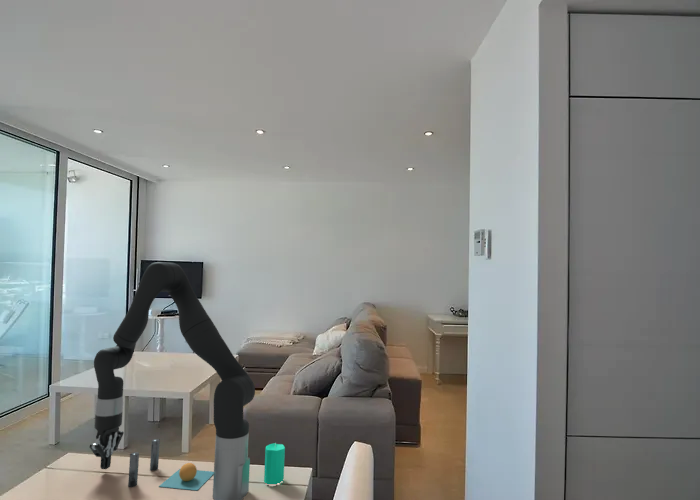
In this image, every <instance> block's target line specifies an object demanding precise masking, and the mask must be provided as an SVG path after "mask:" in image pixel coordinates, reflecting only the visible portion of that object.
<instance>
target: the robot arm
mask: <svg viewBox="0 0 700 500" xmlns="http://www.w3.org/2000/svg"><path fill="white" fill-rule="evenodd" d="M165 292H166V293H167V294H168V295H169V296H170V297H171V298H172V300H173V302H174V304H175V306H176V307H177V312H178V323H179V325H178V326H179V329H180V333H181V335H182V337H183V339H184V340H185V341H186V343H187V345H188V347H189V348H190V349H191V351H192V352H193V353H194V354H196V355H197V356H198V358H200V359H202V360H203V361H204V362H205V363H206V364H208V365H209V366H210V367H211V368H213V369H214V371H215V372H216V374H217V375H218V376H219V378H220V380H221V381H220V382H218V384H217V385H216V387H215V390H214V393H213V424H214V428H215V441H214V442H215V443H214V444H215V446H214V463H213V472H214V474H213V479H212V480H213V481H212V482H213V483H212V499H213V500H243V499H244V498H245V497H246V495H247V493H249V490H250V489H249V488H250V487H249V486H250V469H251V468H250V466H251V458H250V457H248V455H249V434H250V433H249V431H250V423H249V421H248V420H246V419H244V407H245V406H247V405H248V404H250V402H252V401H253V400H254V397H255V395H256V394H255V393H256V387H255V384H254V381H253V379H252V378H251V377H250V375H249V374H248V373H247V371H246V370H245V369H244V368H243V366H242V365H241V364H240V363H239V361H238V360H237V358H236V357H235V356H234V354H233V353H232V351H231V350H230V348H229V347H228V345H227V344H226V342H225V340H224V339H223V337H222V336H221V334H220V332H219V331H218V328H217V327H216V325H215V323H214V322H213V320H212V318H211V317H210V316H209V314H208V313H207V311H206V309H205V308H204V306H203V305H202V303H201V301H200V300H199V298H198V297H197V294H196V293H195V291H194V289H193V287H192V285H191V283H190V280H189V278H188V276H187V274H186V272H185V271H184V269H183V268H182V266H181V265H179V264H177V263H174V262H168V261H167V262H165V261H157V262H155V261H154V262H151V264H149V265H148V266H147V267H146V268H145V270H144V272H143V275H142V277H141V279H140V281H139V284H138V287H137V290H136V291H135V294H134V297H133V300H132V301H131V303H130V307H129V309H128V310H127V313H126V315H125V316H124V318H123V319H122V321H121V323H120V324H119V326H118V328H117V329H116V331H114V332H115V333H114V334H113V339H112V340H113V342H114V343H115V345H116V346H113V347H106V348H103V349H100V350H99V351H98V352H96V355H95V356H94V359H93V367H94V371H95V376H96V380H97V385H98V386H97V397H96V398H97V399H96V405H95V411H94V412H95V414H94V415H95V416H94V429H95V430H96V431H97V433H96V435H95V440H94V443H90V444H89V449H90V450H91V451H92V453H93V455H94V456H95V457H96V458H100V469H101V470H108V469H109V468H110V467H111V465H112V464H111V463H112V456H113V454H114V452H116V451H117V449H118V447H119V444H120V443H121V440H122V438H123V436H124V431H122V430H120V427H121V426H122V424H123V410H124V378H122V377H121V376H116V375H115V370H119V369H122V368H124V367H127V365H128V364H129V363H130V362H131V360H132V359H133V356H134V352H135V348H136V346H137V342H138V341H139V340H140V338H141V336H142V334H143V333H144V331H145V329H146V328H147V326H148V321H149V316H150V315H149V313H150V309H151V306H152V303H153V302H154V300H155V299H156V298H157V297H158V295H159V294H160V293H165Z"/></svg>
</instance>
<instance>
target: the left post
mask: <svg viewBox="0 0 700 500" xmlns="http://www.w3.org/2000/svg"><path fill="white" fill-rule="evenodd" d="M139 461H140V452H139V451H135V452H131V453H130V454H129V467H128V481H127V482H128V483H127V486H128V488H135V487H136V486H138V478H139V477H138V475H139Z"/></svg>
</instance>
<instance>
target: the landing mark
mask: <svg viewBox="0 0 700 500" xmlns="http://www.w3.org/2000/svg"><path fill="white" fill-rule="evenodd" d="M180 469H181V468H178V470H176V471H175V472H174V473H173V474H172V475H171V476H169V477H168V478H167V479H165V480H164V481H163V482H162V483H161V484H160V485H158V488H167V489H177V490H184V491H185V490H186V491H194V492H195V491H197V492H198V491H199V490H200V489H201V488H202V487H203V486H204V485H205V484H206V483H207V482H208V481H209V480H210V479H211V478H212V477H213V476H214V471H209V470H198V469H197V473H196V476H195V477H194V478H193V479H192V480H190V481H183V480H182V479H181V478H180V476H179V471H180Z"/></svg>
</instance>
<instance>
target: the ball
mask: <svg viewBox="0 0 700 500" xmlns="http://www.w3.org/2000/svg"><path fill="white" fill-rule="evenodd" d="M179 469H180V471H179V476H180V478H181V479H182V480H183V481H190V480H192V479H193V478H194V477H195V476H196V473H197V470H198V469H197V467H196V465H195V464H194V463H192V462H187V463H185V464H183V465H182V466H181V467H180V468H179Z"/></svg>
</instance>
